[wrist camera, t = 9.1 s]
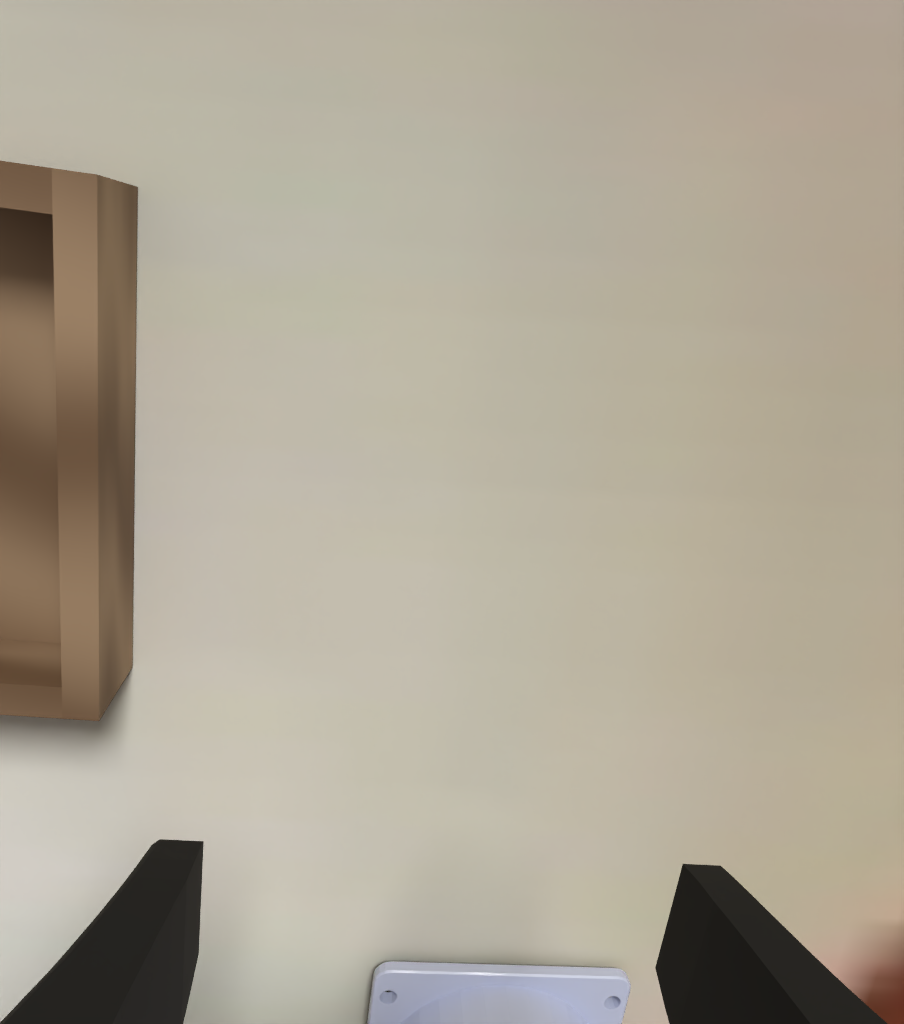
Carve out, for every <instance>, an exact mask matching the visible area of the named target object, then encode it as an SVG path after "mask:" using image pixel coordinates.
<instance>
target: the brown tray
mask: <svg viewBox="0 0 904 1024" xmlns="http://www.w3.org/2000/svg"><path fill="white" fill-rule="evenodd" d="M137 194H138V187H136V186H133V185H129V184H126V183H123V182H119V181H116V180H113V179H110V178H106V177H103V176H100V175H95V174H88V173H81V172H74V171H67V170H60V169H54V168H47V167H40V166H33V165H26V164H19V163H12V162H5V161H0V715H13V716H29V717H45V718H60V719H76V720H92V721H99V720H100V719H101V717H102V715H103V714H104V712H105V711H106V709H107V707H108V706H109V704H110V702H111V701H112V699H113V698H114V696H115V694H116V693H117V691H118V690H119V688H120V686H121V685H122V683H123V681H124V680H125V678H126V677H127V675H128V673H129V672H130V670H131V668H132V663H133V569H134V475H135V382H136V288H137Z"/></svg>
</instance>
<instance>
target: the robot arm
mask: <svg viewBox="0 0 904 1024" xmlns="http://www.w3.org/2000/svg"><path fill="white" fill-rule="evenodd" d="M202 861H203V841H182V840H158V841H157V842H156V843H154V844H153V845H152V846H151V847H150V848H149V850H148V851H147V852H146V854H145V855H144V857H143V858H142V859H141V861H140V862H139V863H138V865H137V866H136V867H135V869H134V870H133V872H132V873H131V874H130V875H129V877H128V878H127V879H126V881H125V882H124V883H123V885H122V886H121V887H120V888H119V890H118V891H117V892H116V893H115V895H114V896H113V897H112V898H111V900H110V901H109V902H108V903H107V905H106V906H105V907H104V908H103V909H102V911H101V912H100V913H99V914H98V916H97V917H96V918H95V919H94V920H93V921H92V923H91V924H90V925H89V926H88V927H87V928H86V930H85V931H84V932H83V933H82V934H81V935H80V937H79V938H78V939H77V940H76V941H75V942H74V944H73V945H72V946H71V947H70V948H69V949H68V950H67V952H66V953H65V954H64V955H63V956H62V957H61V959H60V960H59V961H58V962H57V963H56V964H55V965H54V966H53V967H52V969H51V970H50V971H49V972H48V973H47V974H46V975H45V976H44V977H43V978H42V979H41V980H40V981H39V982H38V983H37V985H36V986H35V987H34V988H33V989H32V990H31V991H30V992H29V993H28V994H27V995H26V996H25V997H24V998H23V999H22V1000H21V1001H20V1002H19V1003H18V1005H17V1006H16V1007H15V1008H14V1009H13V1010H12V1011H11V1012H10V1013H9V1014H8V1015H7V1016H6V1017H5V1018H4V1019H3V1020H2V1021H1V1022H0V1024H183V1021H184V1017H185V1013H186V1008H187V1004H188V1000H189V995H190V990H191V986H192V981H193V977H194V972H195V967H196V963H197V958H198V953H199V930H200V907H201V884H202ZM656 972H657V976H658V980H659V984H660V988H661V992H662V996H663V1000H664V1005H665V1009H666V1012H667V1016H668V1020H669V1023H670V1024H887V1023H886V1022H885V1021H884V1020H883V1019H882V1018H880V1017H879V1016H878V1015H877V1014H876V1013H875V1012H874V1011H872V1010H871V1009H870V1008H869V1007H868V1006H867V1005H866V1004H865V1003H864V1002H862V1001H861V1000H860V999H859V998H858V997H857V996H856V995H855V994H854V993H853V992H852V991H850V990H849V989H848V988H847V987H846V986H845V985H844V984H843V983H842V982H841V981H840V980H839V979H838V978H836V977H835V976H834V975H833V974H832V973H831V972H830V971H829V970H828V969H827V968H826V967H825V966H824V965H823V964H822V963H821V962H820V961H819V960H817V959H816V958H815V957H814V956H813V955H812V954H811V953H810V952H809V951H808V950H807V949H806V948H805V947H804V946H803V945H802V944H801V943H800V942H799V941H798V940H797V939H796V938H795V937H794V936H793V935H792V934H791V933H790V932H789V931H788V930H787V929H786V928H785V927H784V926H783V925H782V924H780V923H779V922H778V921H777V920H776V919H775V918H774V917H773V916H772V915H771V914H770V913H769V912H768V911H767V910H766V909H765V908H764V907H763V906H762V905H761V904H760V903H759V902H758V901H757V900H756V899H755V898H754V897H753V896H752V895H751V894H750V893H749V892H748V891H747V890H746V889H745V888H744V887H743V886H742V885H741V884H740V883H739V882H738V881H736V880H735V879H734V878H733V877H732V876H731V875H730V874H729V873H728V872H727V871H726V870H725V869H724V868H722V867H721V866H713V865H692V864H683V866H682V870H681V873H680V877H679V881H678V885H677V889H676V892H675V896H674V900H673V904H672V907H671V911H670V915H669V919H668V923H667V926H666V930H665V934H664V938H663V941H662V945H661V949H660V953H659V957H658V960H657V964H656ZM388 990H390V991H392V992H384V991H388ZM629 993H630V982H629V979H628V976H627V974H626V972H624V971H623V970H621V969H617V968H598V967H565V966H531V965H498V964H465V963H432V962H399V961H390V962H385V963H382V964H380V965H379V966H378V967H377V968H376V969H375V971H374V974H373V981H372V989H371V997H370V1005H369V1012H368V1020H367V1024H622V1021H623V1017H624V1013H625V1009H626V1005H627V1001H628V997H629ZM611 996H612V997H611Z"/></svg>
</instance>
